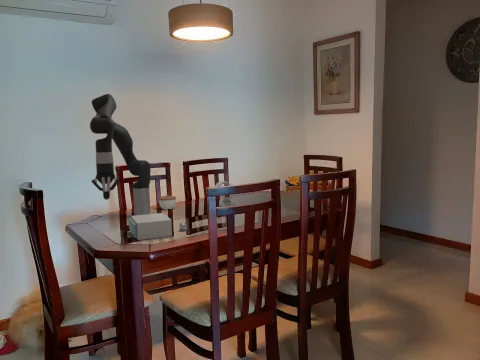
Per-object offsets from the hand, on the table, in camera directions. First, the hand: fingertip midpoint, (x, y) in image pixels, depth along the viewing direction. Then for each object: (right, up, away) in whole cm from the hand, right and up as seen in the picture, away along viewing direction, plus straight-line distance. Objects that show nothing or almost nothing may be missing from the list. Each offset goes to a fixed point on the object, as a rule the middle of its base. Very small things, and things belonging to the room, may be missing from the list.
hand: (106, 199), depth 187 cm
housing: (+18, -17, +10) cm, 27 cm away
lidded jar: (+15, -10, +73) cm, 75 cm away
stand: (+33, -16, +16) cm, 40 cm away
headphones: (+52, -12, +54) cm, 76 cm away
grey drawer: (+17, -16, +9) cm, 25 cm away
